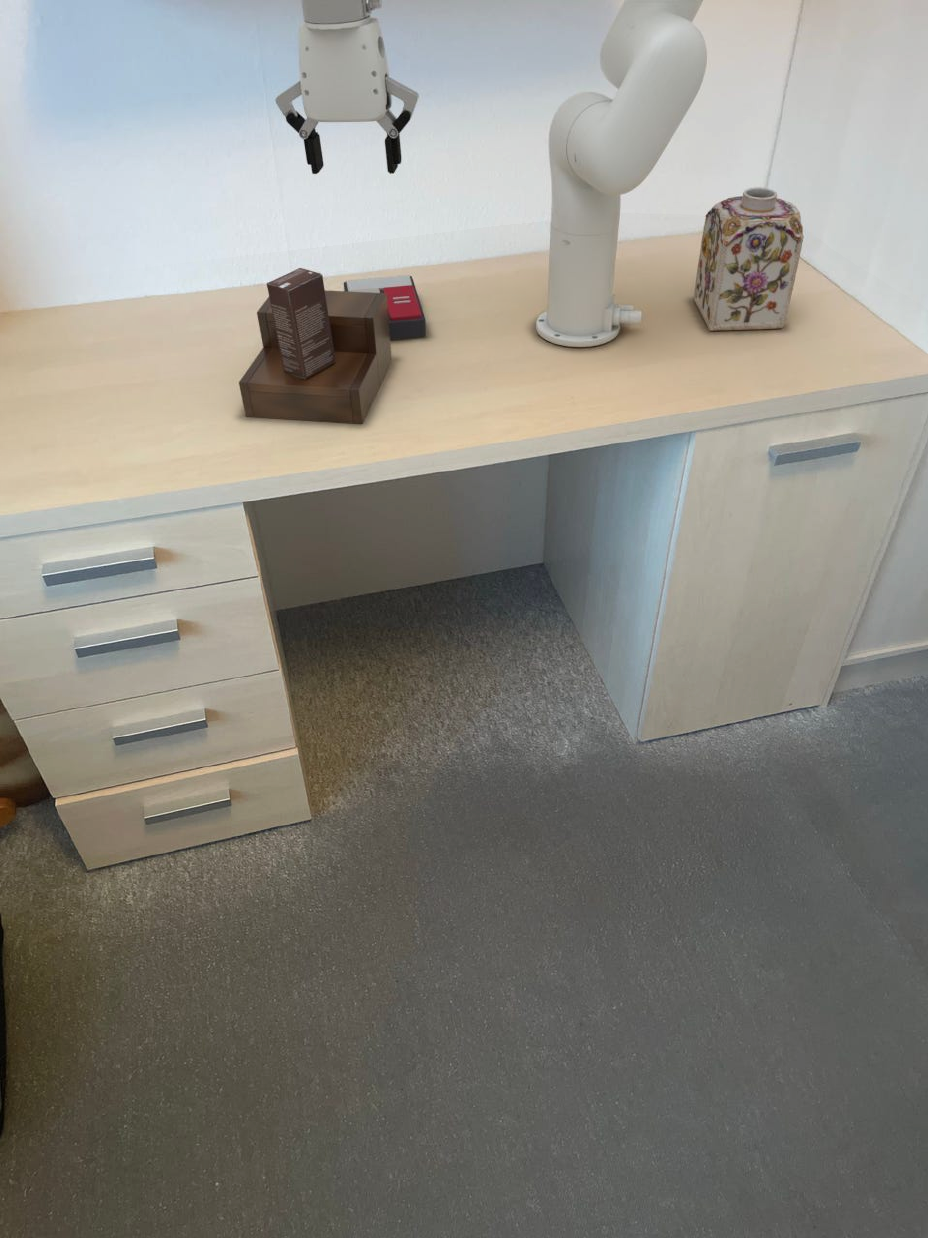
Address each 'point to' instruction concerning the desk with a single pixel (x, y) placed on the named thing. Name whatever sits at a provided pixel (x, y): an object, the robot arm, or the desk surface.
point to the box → (302, 322)
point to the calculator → (396, 304)
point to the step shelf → (340, 385)
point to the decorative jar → (748, 261)
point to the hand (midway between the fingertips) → (355, 170)
